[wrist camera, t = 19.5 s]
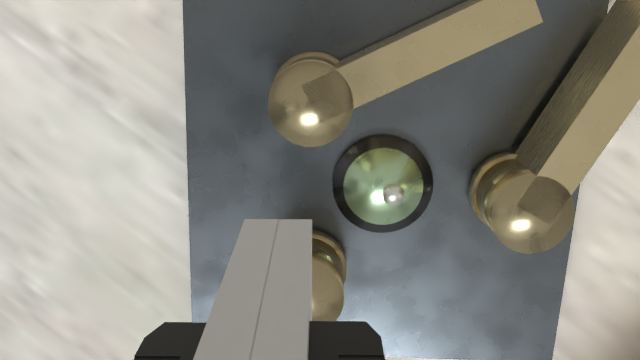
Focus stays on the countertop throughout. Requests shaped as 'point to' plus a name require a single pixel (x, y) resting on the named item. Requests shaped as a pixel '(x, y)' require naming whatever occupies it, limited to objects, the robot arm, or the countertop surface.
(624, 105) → the brass lever handle
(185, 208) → the countertop surface
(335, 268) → the knob
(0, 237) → the countertop surface
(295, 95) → the knob
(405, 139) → the tribrach plate
